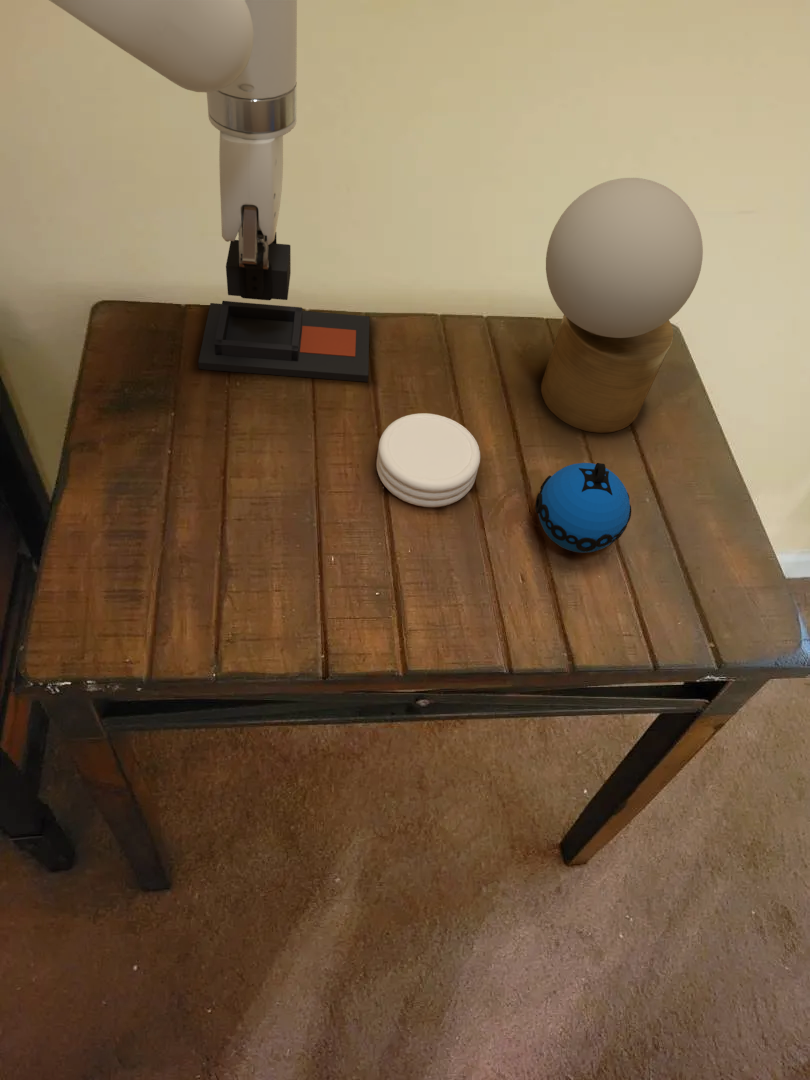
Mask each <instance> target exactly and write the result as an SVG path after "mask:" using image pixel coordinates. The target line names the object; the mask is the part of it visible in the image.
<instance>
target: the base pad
mask: <svg viewBox="0 0 810 1080" xmlns="http://www.w3.org/2000/svg"><path fill="white" fill-rule="evenodd" d="M206 318H207V319H206V323H205V328H204V332H203V338H202V342H201V343H202V344H201V347H200V352H199V356H198V362H197V363H198V365H197V366H198V370H204V371H205V370H206V371H219V372H228V373H229V372H231V373H241V374H242V373H245V374H257V375H270V376H282V377H296V378H308V379H309V378H310V379H323V380H334V381H336V380H337V381H347V382H360V383H361V382H362V383H368V382H369V367H370V366H369V364H370V363H369V361H370V316H369V315H357V314H345V313H333V312H321V311H311V310H310V311H309V310H303V307H301V306H289V305H288V306H287V305H277V304H265V303H253V302H243V301H232V300H231V301H230V300H222V301H221V303H216V302H211V303H210V304H209V309H208V312H207V317H206Z"/></svg>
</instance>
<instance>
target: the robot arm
mask: <svg viewBox="0 0 810 1080" xmlns="http://www.w3.org/2000/svg"><path fill="white" fill-rule="evenodd" d="M48 1H50V2H51V3H52V4H53V5H55V6H57V7H58V8H60V9H62V10H63V11H65V12H66V13H68V14H69V15H71V16H72V17H73V18H75V19H76V20H78V21H79V22H81V23H82V24H84V25H85V26H87V27H88V28H90V29H91V30H93V31H94V32H96V33H97V34H99V35H100V36H101V37H103V38H104V39H106V40H107V41H109V42H110V43H111V44H113V45H115V46H117V47H118V48H119V49H121V50H122V51H124V52H125V53H127V54H129V55H131V57H133V58H134V59H137V60H138V61H140V62H141V63H143V64H144V65H145V66H147V67H148V68H150V69H152V70H153V71H155V72H156V73H158V74H159V75H161V76H162V77H164V78H165V79H167V80H168V81H170V82H171V83H173V84H175V85H177V86H178V87H179V88H182V89H184V90H187V91H191V92H195V93H206V101H207V102H206V103H207V114H208V115H207V117H208V121H209V122H210V124H211V125H212V126H213V127H214V128H215V129H216V130H218V131H219V151H218V152H219V154H218V156H219V157H218V158H219V159H218V161H219V162H218V163H219V193H220V194H219V195H220V218H221V237H222V239H223V240H224V241H225V242H228V243H230V242H231V241H234V240H236V238H237V240H239V262H238V270H239V286H240V296H239V297H241V299H246V300H247V299H248V300H259V301H271V300H273V299H272V295H273V290H272V264H271V263H269V244H271V243H276V244H278V242H277V226H278V220H279V216H280V215H279V214H280V208H281V201H282V192H283V191H282V190H283V178H284V177H283V176H284V175H283V174H284V136H285V135H286V134H288V133H290V132H291V131H292V130H293V129H294V128H295V127H296V124H297V101H298V100H297V99H298V98H297V97H298V96H297V95H298V94H297V92H298V91H297V86H298V85H297V61H298V60H297V59H298V58H297V57H298V56H297V55H298V54H297V53H298V52H297V51H298V50H297V48H298V46H297V45H298V44H297V43H298V40H297V39H298V38H297V37H298V36H297V35H298V34H297V33H298V32H297V31H298V30H297V29H298V27H297V26H298V0H48ZM237 236H238V237H237ZM257 244H262V253H261V252H258V251H257Z"/></svg>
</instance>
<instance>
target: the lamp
mask: <svg viewBox="0 0 810 1080" xmlns="http://www.w3.org/2000/svg"><path fill="white" fill-rule="evenodd" d="M554 225H555V226H554V228H553V230H552V231H551V234H550V237H549V240H548V244H547V249H546V255H545V256H546V257H545V275H546V281H547V285H548V289H549V292H550V294H551V296H552V299H553V301H554V302H555V304H556V306H557V307H558V309H559V310H560V312H561V313H562V314H563V316H562V319H561V323H560V325H559V329H558V332H557V334H556V337H555V341H554V344H553V347H552V349H551V353H550V355H549V359H548V362H547V364H546V369H545V371H544V374H543V377H542V380H541V384H540V391H541V396H542V399H543V402H544V404H545V406H547V408H548V410H549V411H550V412H551V413H552V414H553V415H554V416H555V417H557V418H558V419H559V420H560V421H562V422H563V423H565V424H567V425H569V426H570V427H573V428H575V429H578V430H581V431H586V432H590V433H597V434H609V433H614V432H619V431H621V430H623V429H625V428H627V427H629V426H630V425H631V424H632V423H633V422H634V421H636V419H637V418H638V416H639V413H640V411H641V409H642V407H643V405H644V403H645V401H646V400H647V396H648V395H649V393H650V390H651V388H652V386H653V384H654V381H655V379H656V377H657V376H658V373H659V372H660V369H661V367H662V365H663V364H664V363H663V362H664V360H665V358H666V356H667V354H668V352H669V350H670V349H671V346H672V343H673V341H674V328H673V326H672V323H671V321H670V320H671V319H672V318H673V317H674V316H675V315H676V314H678V313H679V312H680V310H681V309H682V308H683V306H684V305H685V304H686V303H687V302H688V300H689V298H690V297H691V295H692V293H693V292H694V290H695V288H696V285H697V283H698V280H699V277H700V274H701V270H702V265H703V257H704V256H703V255H704V246H703V245H704V244H703V238H702V233H701V228H700V226H699V223H698V221H697V218H696V217H695V213H694V212H693V211H692V209H691V208H690V206H689V204H687V202H685V200H684V199H683V198H682V197H681V196H680V195H679V194H677V193H676V192H675V191H674V190H672V189H671V188H669V187H668V186H666V185H664V184H662V183H660V182H657V181H654V180H651V179H648V178H647V179H646V178H640V177H620V178H615V179H611V180H607V181H605V182H602V183H599V184H597V185H595V186H593V187H590V188H589V189H588V190H586V191H585V192H583V193H581V194H580V195H579V196H578V197H577V198H576V199H574V200H573V201H572V202H571V203H570V204H569V205H568V206H567V207H566V209H564V211H563V213H562V214H561V216H560V217H559V218H558V220H557V222H556V223H555V224H554Z"/></svg>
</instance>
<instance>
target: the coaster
mask: <svg viewBox="0 0 810 1080" xmlns="http://www.w3.org/2000/svg"><path fill="white" fill-rule="evenodd" d="M376 456H377V457H376V464H375V465H376V471H377V474H378V478H379V479H380V482H381V483H382V484H383V486H384V487H385V488H386V490H387V491H389V492H390V493H391V494H392V495H393V496H394V497H396V498H398V499H399V500H401V501H403V502H405V503H408V504H410V505H414V506H418V507H423V508H440V507H445V506H450V505H452V504H454V503H456V502H458V501H460V500H462V499H463V498H464V497H465V496H466V495H467V494H468V493H469V492H470V491H471V489H472V488H473V487H474V484H475V481H476V479H477V475H478V471H479V468H480V463H481V450H480V447H479V444H478V442H477V439H476V438H475V437H474V435H473V434H472V432H470V431H469V430H468V429H467V428H466V427H465V426H464V425H462V424H460V423H459V422H457V421H456V420H453V419H451V418H449V417H446V416H444V415H439V414H435V413H427V412H423V413H422V412H421V413H420V412H419V413H411V414H408V415H404V416H402V417H399V418H397V419H396V420H394V421H392V422H391V423H390V424H389V425H388V426H387V427H386V428H385V429H384V430H383V432H382V434H381V435H380V438H379V440H378V449H377V455H376Z"/></svg>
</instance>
